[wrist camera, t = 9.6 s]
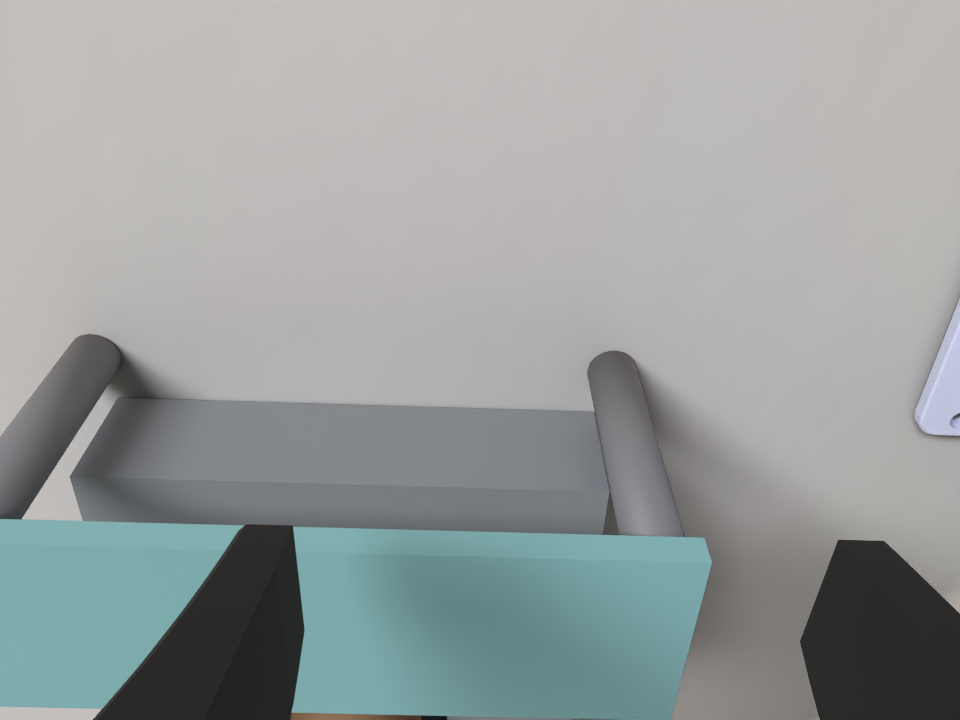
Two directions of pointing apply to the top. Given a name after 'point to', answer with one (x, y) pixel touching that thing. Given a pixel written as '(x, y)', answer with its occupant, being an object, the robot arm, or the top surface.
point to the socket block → (345, 469)
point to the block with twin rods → (365, 586)
